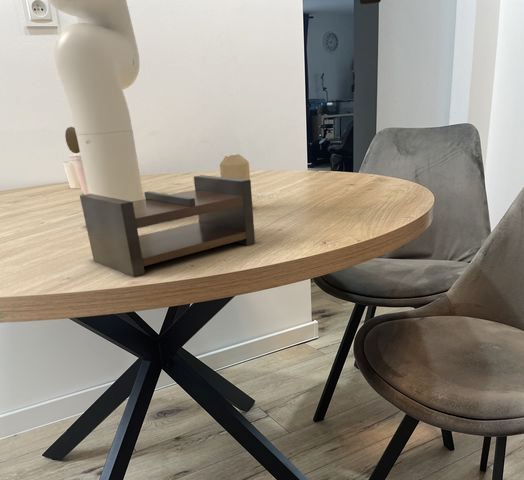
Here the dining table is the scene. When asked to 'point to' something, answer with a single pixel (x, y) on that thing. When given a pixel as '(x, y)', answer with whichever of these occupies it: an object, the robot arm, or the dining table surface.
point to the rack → (163, 210)
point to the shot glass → (71, 175)
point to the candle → (235, 167)
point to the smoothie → (79, 171)
